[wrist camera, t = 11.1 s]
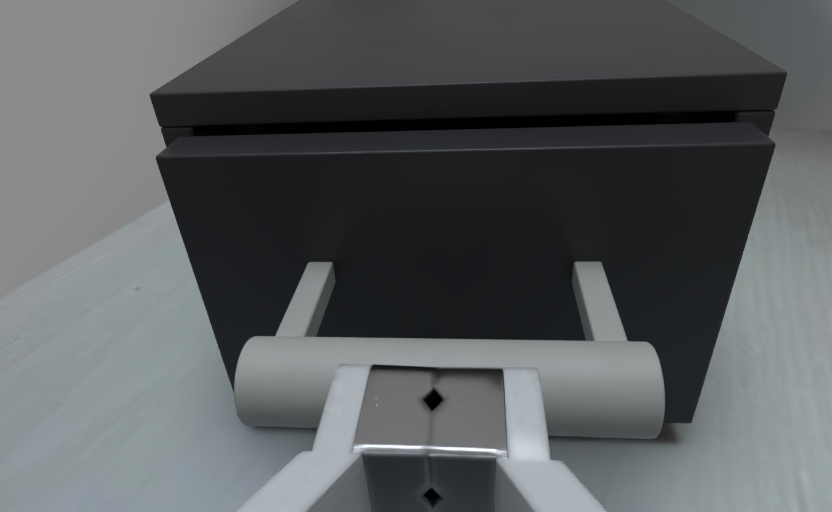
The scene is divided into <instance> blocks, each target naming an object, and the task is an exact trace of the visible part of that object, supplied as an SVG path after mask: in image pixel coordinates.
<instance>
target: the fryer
mask: <svg viewBox="0 0 832 512" xmlns="http://www.w3.org/2000/svg"><path fill="white" fill-rule="evenodd" d="M786 76H787V71H785V70H783V69H782V68H780V67H778V66H776V65H775V64H773V63H771V62H770V61H768V60H766V59H764V58H763V57H761V56H759V55H758V54H756V53H754V52H753V51H751V50H749V49H748V48H746V47H744V46H742V45H741V44H739V43H737V42H736V41H734V40H732V39H731V38H729V37H727V36H725V35H724V34H722V33H720V32H719V31H717V30H715V29H714V28H711V27H710V26H708V25H707V24H705V23H703V22H702V21H700V20H698V19H696V18H695V17H693V16H691V15H690V14H688V13H686V12H685V11H683V10H681V9H680V8H678V7H676V6H674V5H673V4H671V3H669V2H668V1H666V0H299V1H297V2H296V3H294V4H293V5H291V6H289V7H288V8H286V9H285V10H283V11H281V12H280V13H278V14H277V15H275V16H273V17H272V18H270V19H269V20H267V21H265V22H264V23H262V24H261V25H259V26H257V27H256V28H254V29H253V30H251V31H249V32H248V33H247V34H245V35H243V36H241V37H240V38H238V39H237V40H235V41H233V42H232V43H230V44H229V45H227V46H225V47H224V48H223V49H221V50H219V51H218V52H216V53H215V54H213V55H211V56H210V57H208V58H206V59H205V60H203V61H202V62H200V63H198V64H197V65H195V66H194V67H192V68H191V69H189V70H187V71H186V72H184V73H182V74H181V75H179V76H178V77H176V78H175V79H173V80H171V81H170V82H168V83H167V84H165V85H163V86H162V87H160V88H159V89H157V90H156V91H154V92H152V93H151V94H150V98H151V101H152V104H153V108H154V110H155V114H156V117H157V120H158V123H159V126H161V127H162V128H161V132H162V134H163V138H164V141H165V144H166V146H167V147H168V146H169V145H170V144H172V143H173V142H174V141H175V140H176V139H178V138H179V137H191V136H229V135H235V133H234V129H233V125H245V124H281V123H317V122H353V121H388V120H424V119H460V118H496V117H531V116H567V115H603V114H639V113H675V112H692V114H691V118H690V123H689V124H694V123H733V122H751V123H752V124H754V125H755V126H756V127H757V128H758V129H760V130H761V131H762V132H763V133H764V134H765V135H767V136H769V132H770V129H771V126H772V122H773V119H774V115H775V111H774V110H775V109H777V107H778V103H779V100H780V97H781V93H782V90H783V86H784V83H785V79H786Z"/></svg>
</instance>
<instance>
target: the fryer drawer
mask: <svg viewBox="0 0 832 512" xmlns="http://www.w3.org/2000/svg"><path fill="white" fill-rule="evenodd" d="M691 114H692V112H675V113H639V114H603V115H567V116H531V117H496V118H460V119H424V120H388V121H353V122H317V123H281V124H245V125H233V129H234V133H235V135H229V136H191V137H179V138H178V139H176V140H175V141H174V142H173V143H172V144H170V145H169V146H168V147H167V148H166V149H164V150H163V151H162V152H161V153H160V154H158V155H157V156H156V160H157V164H158V167H159V170H160V173H161V176H162V179H163V182H164V185H165V188H166V191H167V194H168V197H169V200H170V203H171V206H172V209H173V212H174V215H175V218H176V221H177V224H178V227H179V230H180V233H181V236H182V239H183V242H184V245H185V248H186V251H187V254H188V257H189V260H190V263H191V266H192V269H193V272H194V275H195V278H196V281H197V284H198V287H199V290H200V293H201V296H202V299H203V302H204V305H205V308H206V311H207V314H208V317H209V320H210V323H211V326H212V329H213V332H214V335H215V338H216V341H217V344H218V347H219V350H220V353H221V356H222V359H223V362H224V365H225V368H226V371H227V374H228V377H229V380H230V383H231V386H232V389H233V392H234V399H235V406H236V411H237V414H238V417H239V419H240V420H241V422H242V423H243V424H245V425H247V426H264V427H295V428H318V427H319V424H320V420H321V417H322V414H323V410H324V407H325V403H326V400H327V397H328V393H329V390H330V387H331V383H332V380H333V376H334V373H335V371H336V369H337V368H338V366H339V365H340V364H360V365H373V364H377V365H400V366H423V367H502V369H503V367H536V368H537V369H538V371H539V373H540V381H541V388H542V396H543V403H544V411H545V418H546V425H547V433H548V436H572V437H603V438H633V439H654V438H656V437H657V436H658V435H659V434H660V431H661V428H662V425H663V423H691V422H692V419H693V416H694V413H695V410H696V406H697V403H698V400H699V396H700V393H701V390H702V386H703V383H704V380H705V377H706V373H707V370H708V367H709V363H710V360H711V357H712V353H713V350H714V347H715V344H716V340H717V337H718V334H719V330H720V327H721V324H722V320H723V317H724V314H725V311H726V307H727V304H728V301H729V297H730V294H731V291H732V287H733V284H734V281H735V277H736V274H737V271H738V268H739V264H740V261H741V258H742V254H743V251H744V248H745V244H746V241H747V238H748V235H749V231H750V228H751V225H752V221H753V218H754V215H755V211H756V208H757V205H758V202H759V198H760V195H761V192H762V188H763V185H764V182H765V178H766V175H767V172H768V169H769V165H770V162H771V159H772V155H773V152H774V149H775V142H774V141H772V140H771V139H770V138H769V137H768V136H767V135H765V134H764V133H763V132H762V131H761V130H760V129H758V128H757V127H756V126H755V125H754V124H752V123H751V122H733V123H694V124H689V123H690V118H691Z"/></svg>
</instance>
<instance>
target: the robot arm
mask: <svg viewBox="0 0 832 512" xmlns="http://www.w3.org/2000/svg"><path fill="white" fill-rule="evenodd" d="M234 512H607V511H606V510H605V509H604V507H603V506H602V505H601V504H600V503H599V502H598V501H597V499H596V498H595V497H594V496H593V495H592V494H591V493H590V492H589V490H588V489H587V488H586V487H585V486H584V485H583V484H582V483H581V481H580V480H579V479H578V478H577V477H576V476H575V475H574V474H573V472H572V471H571V470H570V469H569V468H568V467H567V466H566V464H565V463H564V462H563V461H558V460H551V455H550V448H549V440H548V433H547V425H546V418H545V411H544V403H543V396H542V388H541V381H540V373H539V371H538V369H537V368H536V367H503V369H502V367H423V366H400V365H377V364H373V365H360V364H340V365H339V366H338V368H337V369H336V371H335V373H334V376H333V380H332V383H331V387H330V390H329V393H328V397H327V400H326V403H325V407H324V410H323V414H322V417H321V420H320V424H319V427H318V430H317V434H316V437H315V441H314V444H313V447H312V451H301V452H300V453H299V454H298V455H296V456H295V457H294V458H293V459H292V460H291V461H290V462H289V463H288V464H286V465H285V466H284V467H283V468H282V469H281V470H280V471H279V472H278V473H277V474H275V475H274V476H273V477H272V478H271V479H270V480H269V481H268V482H267V483H265V484H264V485H263V486H262V487H261V488H260V489H259V490H258V491H257V492H256V493H254V494H253V495H252V496H251V497H250V498H249V499H248V500H247V501H246V502H244V503H243V504H242V505H241V506H240V507H239V508H238V509H237V510H236V511H234Z"/></svg>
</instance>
